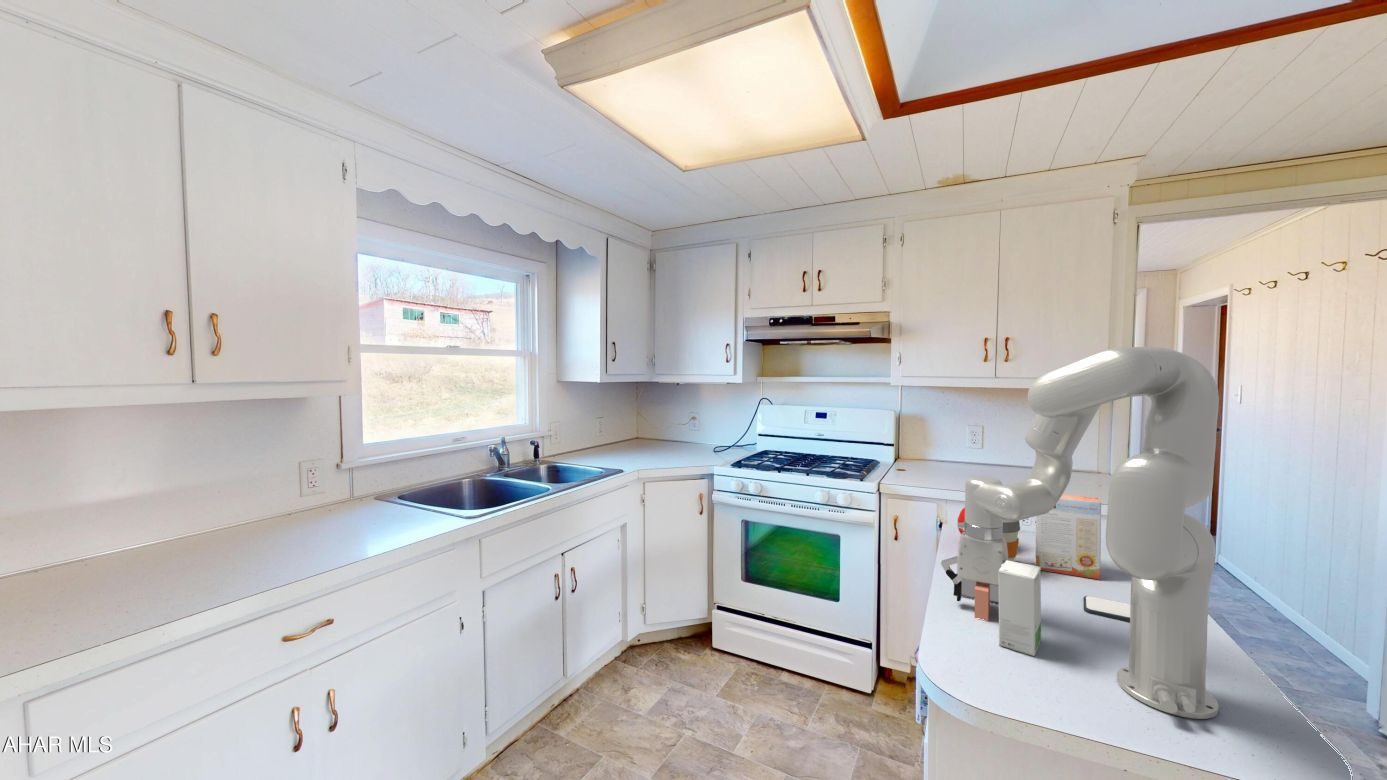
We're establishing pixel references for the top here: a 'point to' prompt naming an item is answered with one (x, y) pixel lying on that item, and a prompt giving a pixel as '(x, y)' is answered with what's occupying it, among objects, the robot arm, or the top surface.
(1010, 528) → the reusable coffee cup
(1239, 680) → the top surface
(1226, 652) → the top surface
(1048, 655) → the top surface
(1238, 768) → the top surface
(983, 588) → the card box
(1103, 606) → the smartphone
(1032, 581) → the skincare box
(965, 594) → the mat
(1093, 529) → the cracker box
